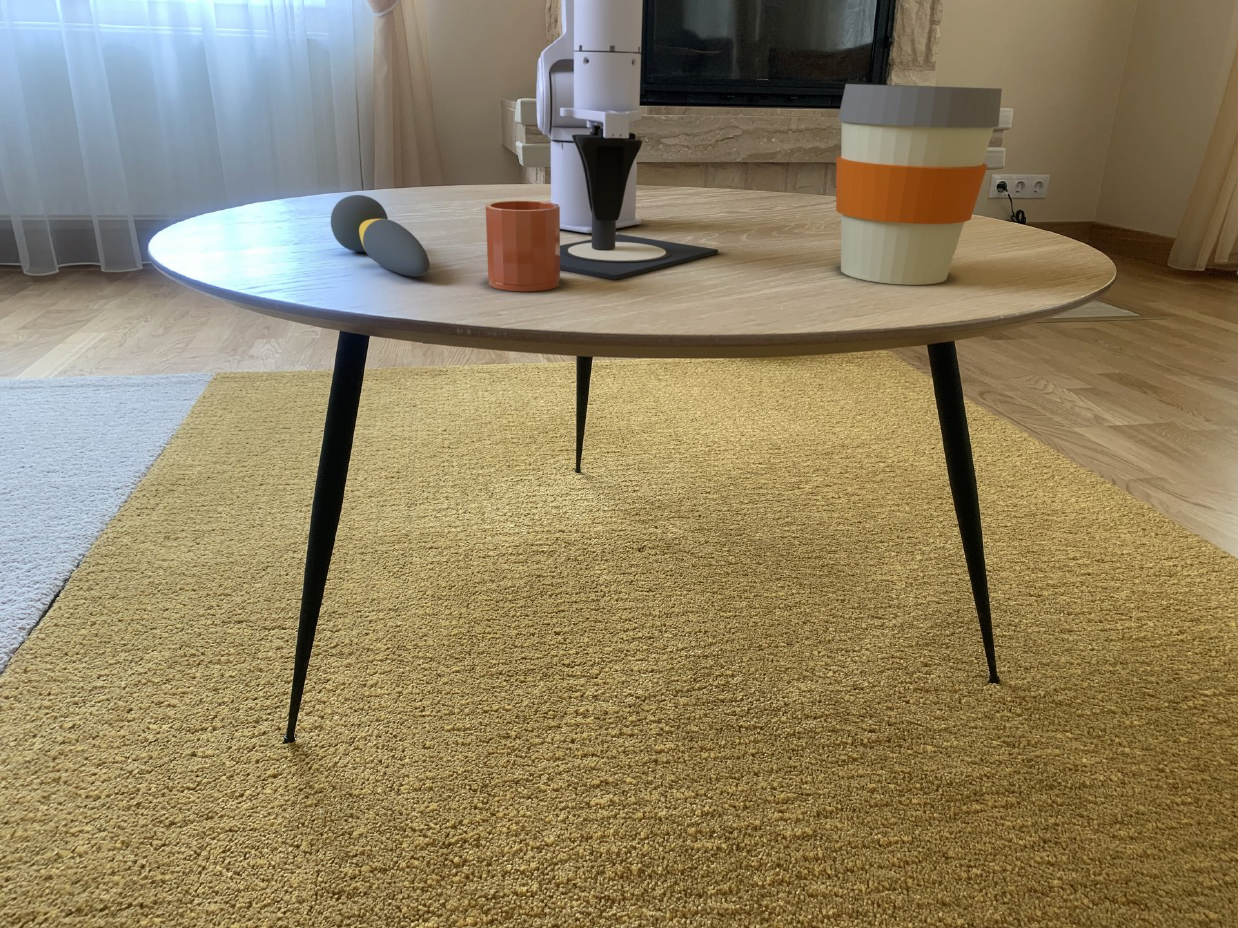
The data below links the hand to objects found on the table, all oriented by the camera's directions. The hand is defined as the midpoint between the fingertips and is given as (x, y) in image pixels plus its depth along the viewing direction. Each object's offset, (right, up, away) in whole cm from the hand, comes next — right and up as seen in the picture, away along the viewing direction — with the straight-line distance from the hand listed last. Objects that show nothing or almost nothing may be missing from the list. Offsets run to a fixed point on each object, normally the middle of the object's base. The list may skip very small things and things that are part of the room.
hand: (604, 217), depth 79 cm
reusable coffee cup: (+25, -6, -3) cm, 26 cm away
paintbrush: (-19, -5, -4) cm, 20 cm away
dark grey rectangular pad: (+1, -3, +1) cm, 4 cm away
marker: (0, -2, +1) cm, 3 cm away
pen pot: (-6, -8, -10) cm, 15 cm away
